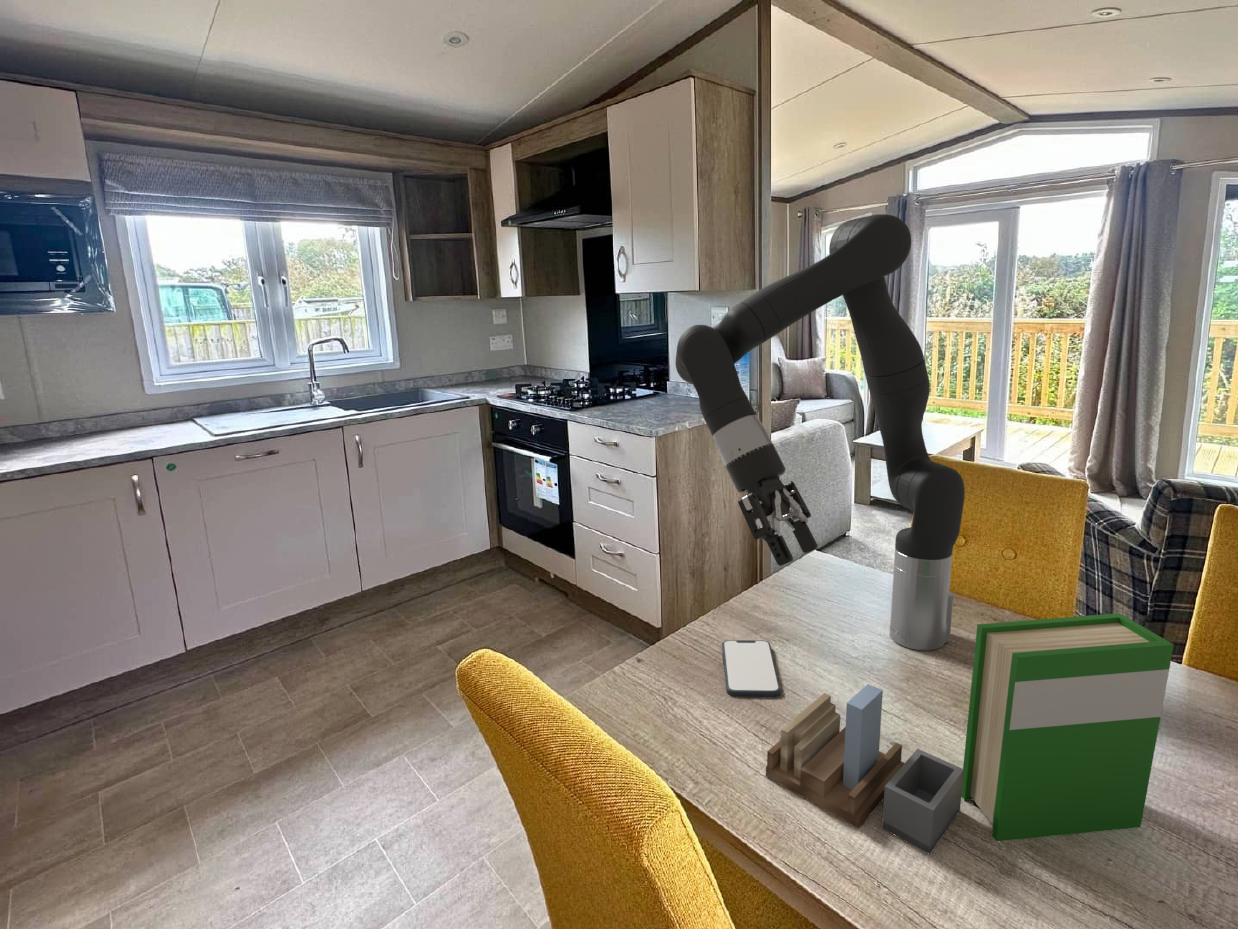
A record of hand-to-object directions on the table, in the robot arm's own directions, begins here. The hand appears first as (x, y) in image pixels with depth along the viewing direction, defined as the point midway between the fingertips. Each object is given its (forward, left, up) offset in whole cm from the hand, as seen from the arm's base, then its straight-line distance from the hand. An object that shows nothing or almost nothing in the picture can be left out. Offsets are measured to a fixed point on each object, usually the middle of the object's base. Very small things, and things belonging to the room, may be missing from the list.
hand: (799, 556), depth 93 cm
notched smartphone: (0, -16, -28) cm, 32 cm away
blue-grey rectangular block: (-2, +14, -25) cm, 29 cm away
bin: (-6, +21, -27) cm, 35 cm away
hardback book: (-21, +24, -27) cm, 42 cm away
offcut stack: (+2, +8, -25) cm, 27 cm away
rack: (0, +11, -27) cm, 29 cm away
